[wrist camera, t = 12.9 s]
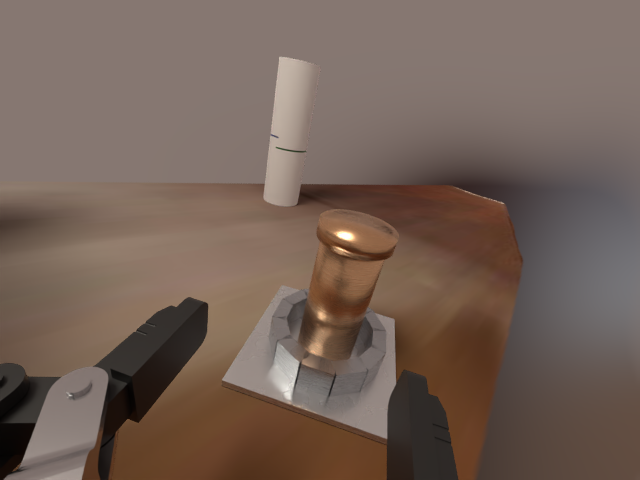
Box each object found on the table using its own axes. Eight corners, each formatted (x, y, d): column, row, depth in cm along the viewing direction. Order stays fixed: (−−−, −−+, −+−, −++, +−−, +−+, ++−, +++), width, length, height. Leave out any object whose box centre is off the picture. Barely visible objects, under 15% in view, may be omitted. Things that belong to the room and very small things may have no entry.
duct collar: (221, 385, 21) (223, 357, 20) (281, 289, 33) (285, 267, 31) (394, 447, 19) (409, 421, 18) (392, 323, 31) (401, 301, 30)
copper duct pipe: (284, 358, 23) (310, 228, 18) (303, 314, 29) (328, 203, 23) (352, 381, 23) (400, 254, 17) (358, 332, 28) (397, 222, 23)
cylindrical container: (282, 192, 64) (301, 65, 53) (304, 204, 60) (329, 69, 49) (256, 195, 59) (270, 55, 48) (278, 208, 55) (299, 58, 44)
